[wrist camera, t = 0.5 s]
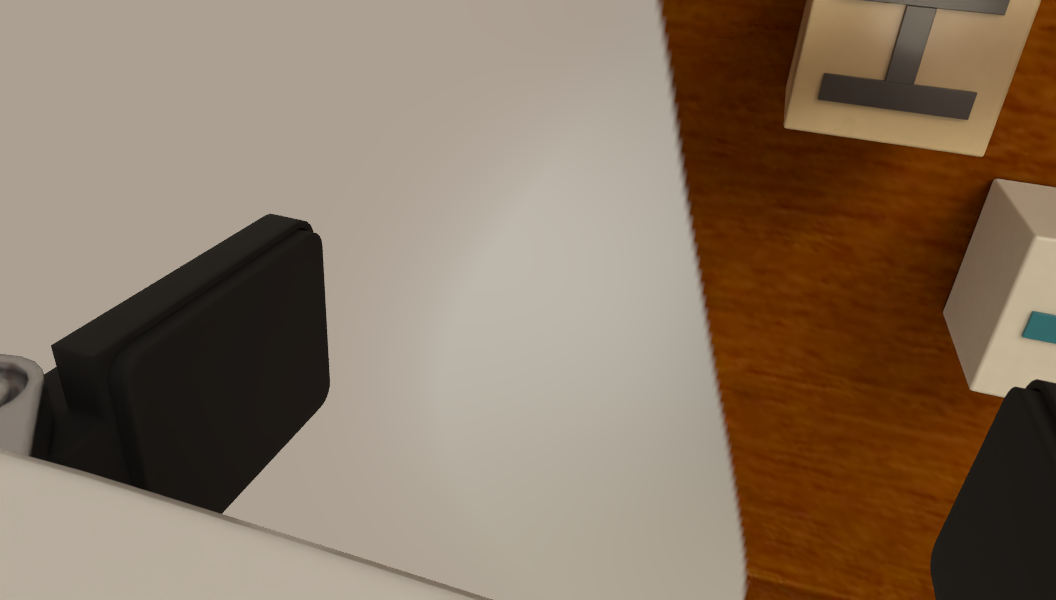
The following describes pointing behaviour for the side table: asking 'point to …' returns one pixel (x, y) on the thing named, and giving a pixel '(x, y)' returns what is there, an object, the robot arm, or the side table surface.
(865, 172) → the side table surface
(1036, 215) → the letter i
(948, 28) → the letter h
